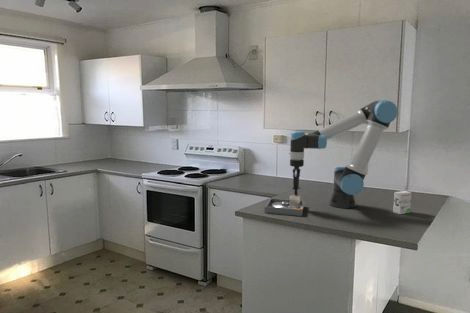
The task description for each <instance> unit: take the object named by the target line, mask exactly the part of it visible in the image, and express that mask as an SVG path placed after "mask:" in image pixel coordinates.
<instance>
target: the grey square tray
mask: <svg viewBox="0 0 470 313" xmlns="http://www.w3.org/2000/svg"><path fill="white" fill-rule="evenodd" d="M283 201H286V202H290V199H285V198H283V199H282V198H273V197H271V198H270V197H269V199H268V201H267V202H266V205H265V206H264V213H265V214H272V215H284V216H295V217H297V216H298V217H302V216H303V212H304V209H305V200H300V206H299V208H298V209H297V208H293V209H291V208H279V207H272V203H275V202H283Z"/></svg>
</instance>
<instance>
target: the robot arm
mask: <svg viewBox="0 0 470 313" xmlns="http://www.w3.org/2000/svg"><path fill="white" fill-rule="evenodd" d="M397 117H398V107H397V105H396V104H395V102H393V101H391V100H386V99H383V100H375V101H373V102H371V103H369V104H367V105H365V106H364V107H361V108H358V111H357V112H355V113H353V114H351V115H348V116H346V117H344V118H341V119H339V120H337V121H335V122H333V123H331V124H328V125H326V126H324V127H322V128H320V129H317V130H315V131H313V132H309V133H307V134H305V131H303V130H292V131H291V132H290V146H289V147H290V149H289V151H290V152H288V154H289V155H290V156H289V158H290V160H289V166H291V167H293V169H292V178H293V182H292V183H293V185H292V186H293V187H292V189H291V190H293V193H292V196H297V195H299V193H300V192H299V189H301V187H300V176H301V167H304V165H305V164H304V163H305V160H304V158H305V149H306V150H307V149H319V150H323V149H326V148H327V144H328V143H327V142H328V141H329V140H330V139H333V138H335V137H337V136H339V135H341V134H345V133H347V132H349V131H350V130H353V129H355V128H357V127H359V126H362V125H367V126H366V128H365V131H364V133H363V135H362V136H361V138H360V140H359V143H358V145H357V148H356V150H355V152H354V155H353V156H352V157H351V161H350V163H349V164H347V165H345V166H336V167H334V171H333V174H334V175H333V189H332V194H331V197H330V198H329V205H330V206H332V207H334V208H339V209H353V208H356V207H357V203H356V202H357V201H356V197H355V195H357V194H359V193H360V192H361V191H362V190H363V188H364V180H365V178H366V177H367V176H366V175H367V174H366V168H367V166H368V165H369V162H370V160H371V158H372V156H373V154H374V152H375V150H376V148H377V146H378V143H379V141H380V139H381V138H382V134H383V133H384V131H385V130H388V129H389V127H390V124H391V123H392V122H393V121H394V120H396V118H397Z"/></svg>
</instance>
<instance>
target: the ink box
mask: <svg viewBox="0 0 470 313" xmlns="http://www.w3.org/2000/svg"><path fill="white" fill-rule="evenodd" d="M412 196H413V194H412V192H411V191H405V190H402V191H394V195H393V208H392V213H394V214H398V215H403V214H410V213H411V206H412Z"/></svg>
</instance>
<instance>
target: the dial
mask: <svg viewBox="0 0 470 313" xmlns="http://www.w3.org/2000/svg"><path fill="white" fill-rule="evenodd" d="M289 200H290V202H286V201H283V202H275V203H272V207H279V208H291V209H293V208H297V209H298V208H299V206H300V201H301V194H298V195H297V196H293V194H292V195H289Z"/></svg>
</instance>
